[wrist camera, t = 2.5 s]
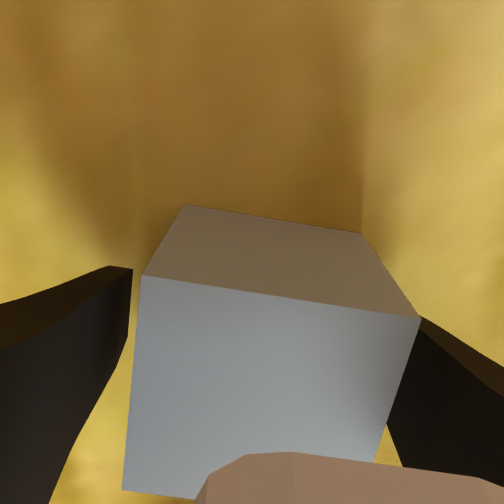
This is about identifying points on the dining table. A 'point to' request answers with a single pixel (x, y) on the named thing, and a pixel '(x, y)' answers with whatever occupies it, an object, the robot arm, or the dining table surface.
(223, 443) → the slate cube
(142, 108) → the dining table surface
